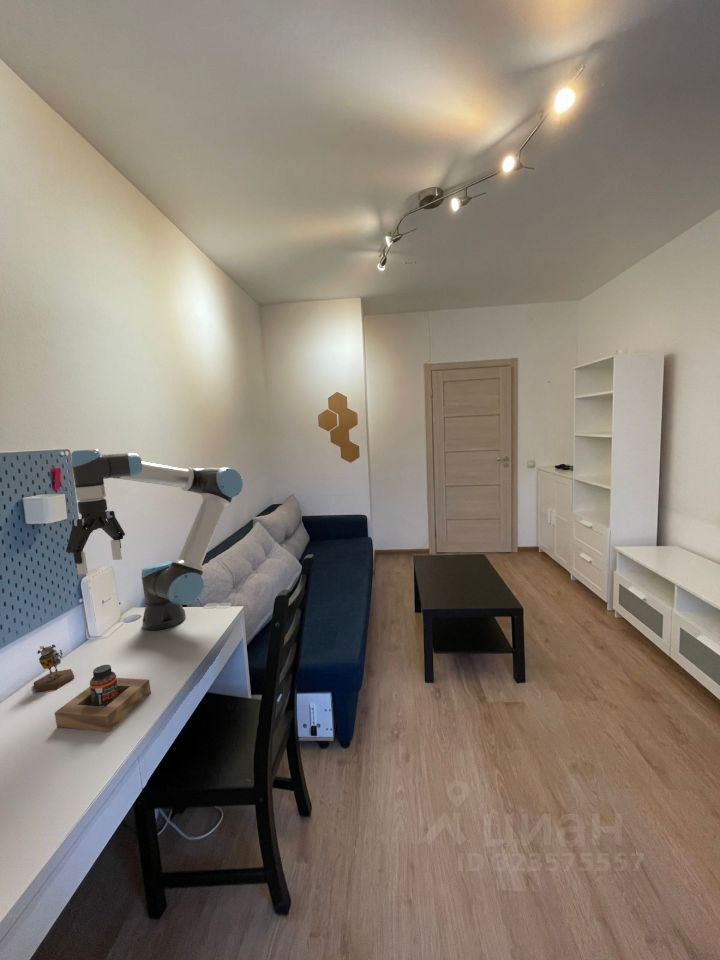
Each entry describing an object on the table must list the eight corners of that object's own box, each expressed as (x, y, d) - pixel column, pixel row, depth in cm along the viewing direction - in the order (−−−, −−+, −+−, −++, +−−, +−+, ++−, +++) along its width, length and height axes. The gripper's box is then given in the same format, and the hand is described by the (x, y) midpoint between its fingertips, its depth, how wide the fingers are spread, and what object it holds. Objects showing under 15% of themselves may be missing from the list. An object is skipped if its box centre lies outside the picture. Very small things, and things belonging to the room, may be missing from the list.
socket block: (104, 690, 118) (102, 677, 117) (150, 693, 115) (149, 679, 114) (56, 727, 103) (54, 712, 102) (108, 731, 100) (106, 716, 100)
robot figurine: (82, 670, 129) (76, 633, 128) (68, 687, 120) (62, 648, 119) (42, 676, 127) (36, 639, 126) (24, 694, 118) (18, 655, 117)
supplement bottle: (106, 717, 105) (101, 675, 104) (87, 715, 107) (82, 673, 106) (124, 703, 111) (120, 663, 110) (106, 700, 112) (101, 661, 111)
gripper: (112, 493, 141) (120, 554, 143) (44, 507, 116) (55, 580, 119) (131, 493, 139) (139, 554, 141) (66, 506, 115) (77, 580, 117)
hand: (101, 566), depth 130 cm, fingers open, 13 cm apart
